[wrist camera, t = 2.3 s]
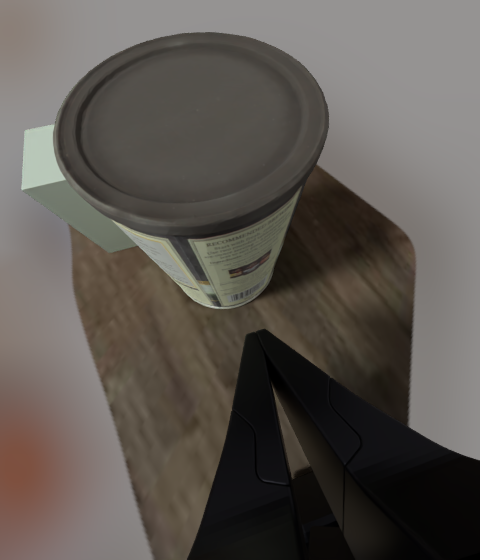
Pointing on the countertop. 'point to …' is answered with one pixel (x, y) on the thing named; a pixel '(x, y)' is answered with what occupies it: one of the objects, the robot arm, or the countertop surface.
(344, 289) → the countertop surface
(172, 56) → the coffee can
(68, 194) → the tea tin
